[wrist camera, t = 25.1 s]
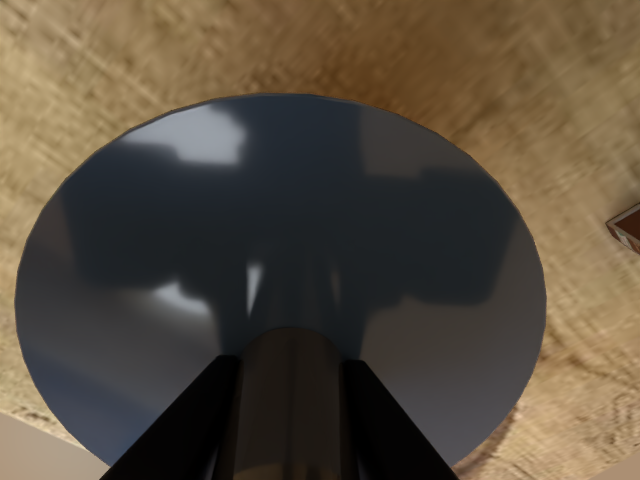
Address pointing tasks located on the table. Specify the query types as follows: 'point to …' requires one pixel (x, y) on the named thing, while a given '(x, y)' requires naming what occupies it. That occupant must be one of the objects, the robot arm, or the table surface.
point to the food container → (627, 228)
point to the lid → (280, 282)
